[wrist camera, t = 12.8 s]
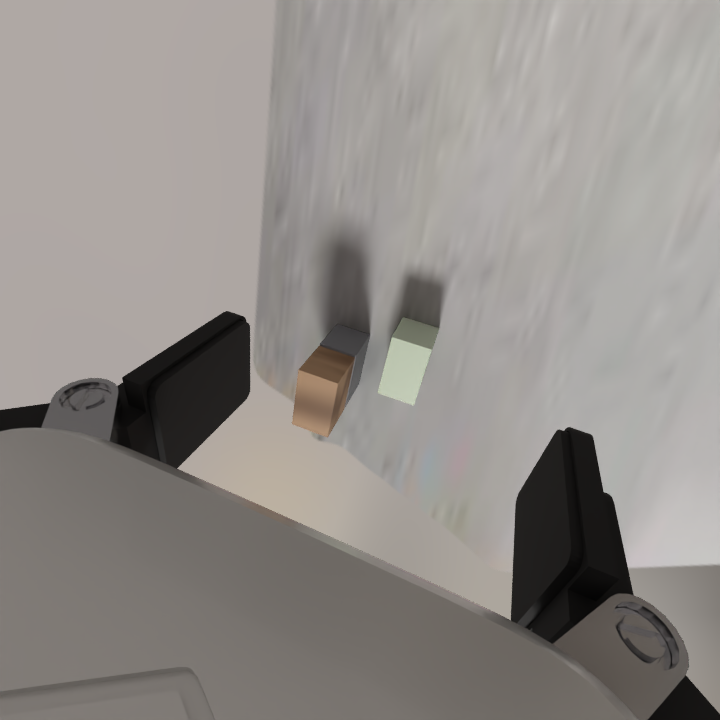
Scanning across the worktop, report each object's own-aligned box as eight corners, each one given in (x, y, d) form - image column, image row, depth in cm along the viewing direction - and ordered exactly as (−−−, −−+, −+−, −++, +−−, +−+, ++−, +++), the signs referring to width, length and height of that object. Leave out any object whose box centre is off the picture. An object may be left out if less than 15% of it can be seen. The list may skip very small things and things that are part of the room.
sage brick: (403, 316, 43) (391, 337, 39) (439, 327, 42) (431, 349, 38) (389, 369, 47) (377, 393, 42) (422, 380, 46) (413, 405, 42)
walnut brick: (319, 345, 42) (298, 369, 38) (355, 357, 41) (337, 383, 37) (311, 396, 45) (292, 423, 41) (344, 408, 45) (327, 437, 41)
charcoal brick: (337, 323, 46) (320, 343, 41) (370, 334, 45) (356, 355, 41) (328, 372, 49) (312, 395, 45) (359, 383, 49) (345, 407, 45)
